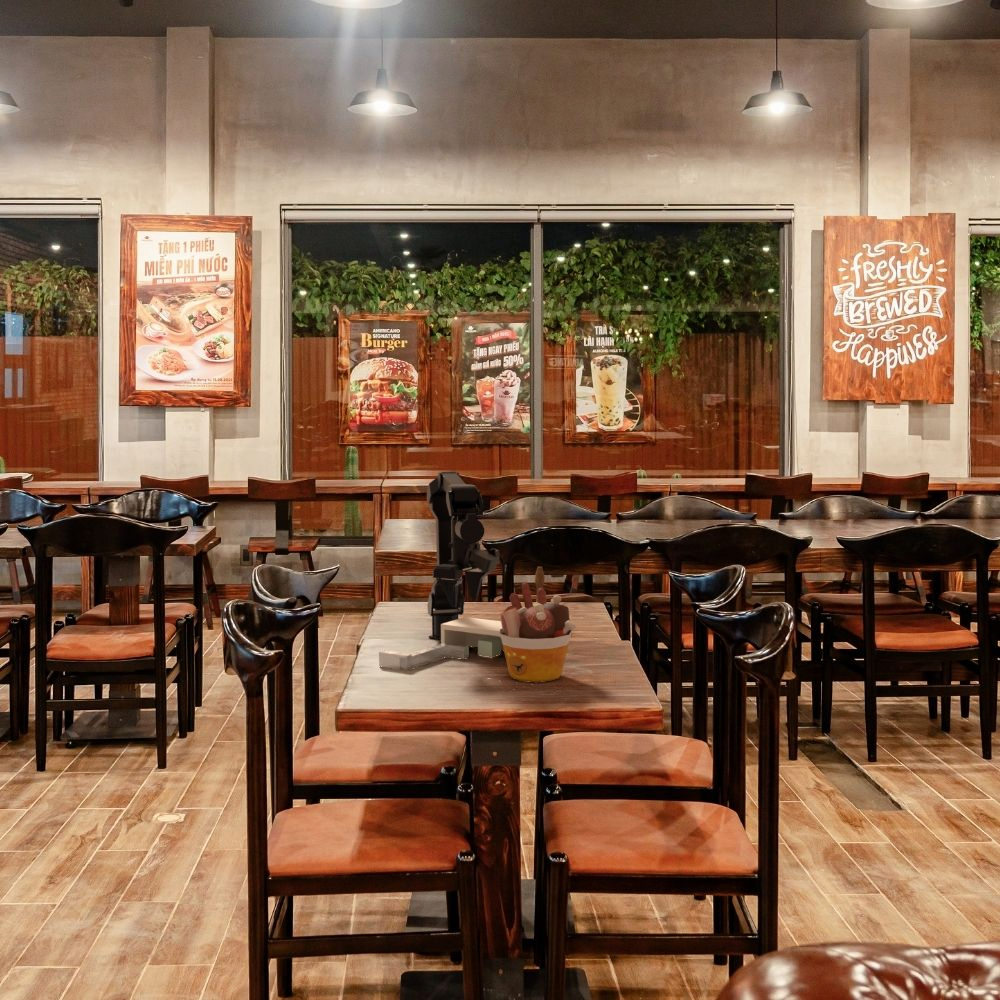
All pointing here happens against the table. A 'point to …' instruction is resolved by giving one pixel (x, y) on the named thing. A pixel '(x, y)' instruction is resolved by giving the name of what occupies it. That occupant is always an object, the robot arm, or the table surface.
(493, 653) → the mint cube
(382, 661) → the pale grey angled bracket
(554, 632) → the bucket of meat
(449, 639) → the low cubby
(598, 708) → the table surface
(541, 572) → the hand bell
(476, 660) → the table surface
